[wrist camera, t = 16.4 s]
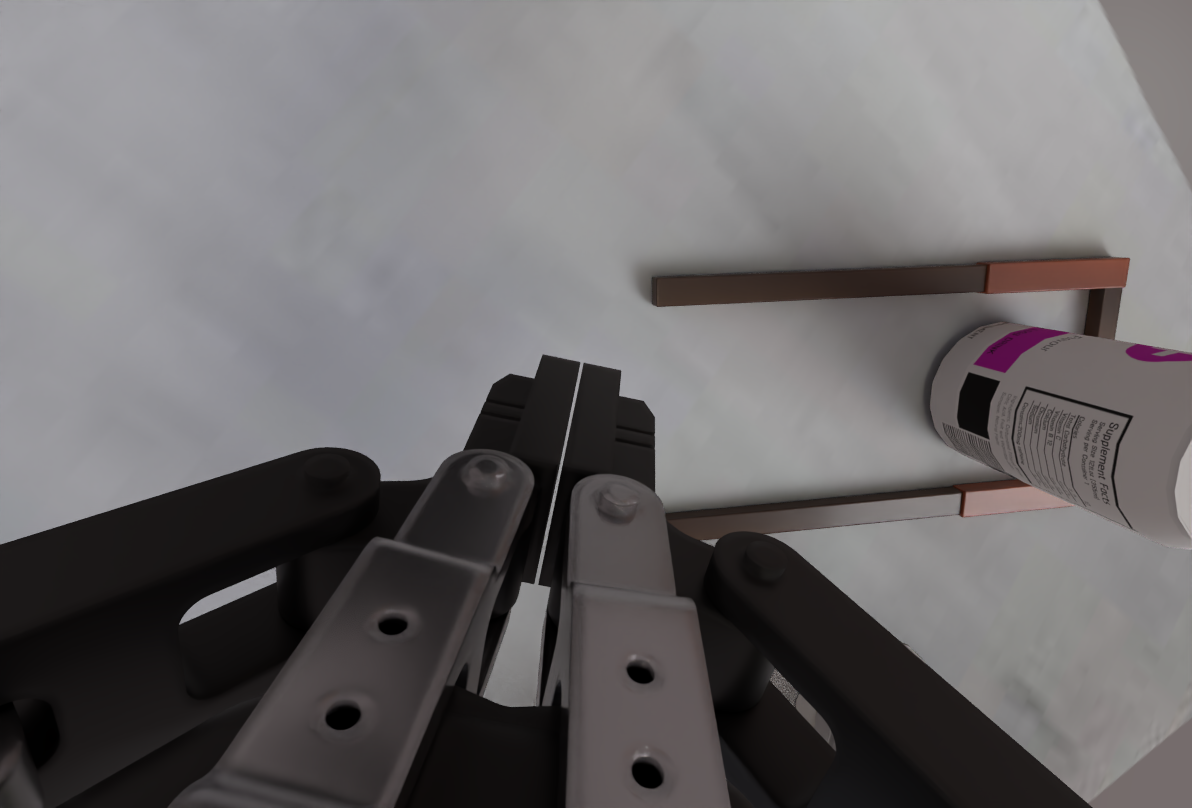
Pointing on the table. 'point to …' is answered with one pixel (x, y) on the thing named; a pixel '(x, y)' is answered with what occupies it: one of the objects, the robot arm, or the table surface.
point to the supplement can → (1076, 421)
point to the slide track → (879, 282)
